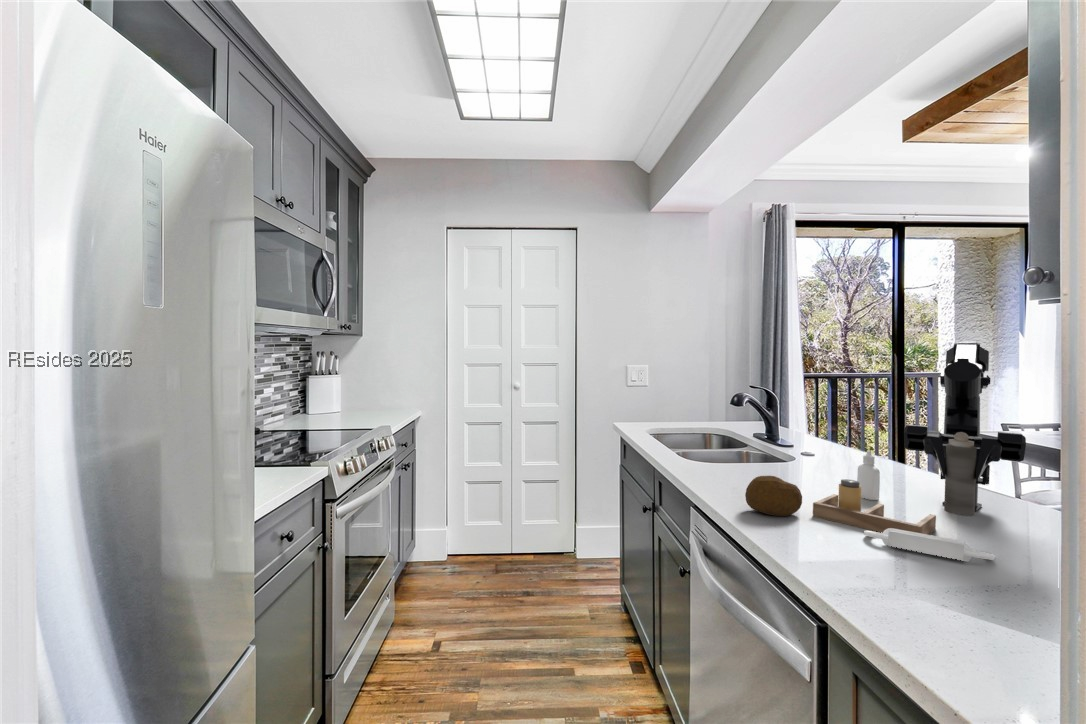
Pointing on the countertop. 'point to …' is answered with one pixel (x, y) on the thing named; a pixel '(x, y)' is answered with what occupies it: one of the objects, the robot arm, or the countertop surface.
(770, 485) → the potato
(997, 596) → the countertop surface
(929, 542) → the rolling pin
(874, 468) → the eye dropper bottle
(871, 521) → the slot rack
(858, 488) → the amber jar
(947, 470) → the pepper mill
